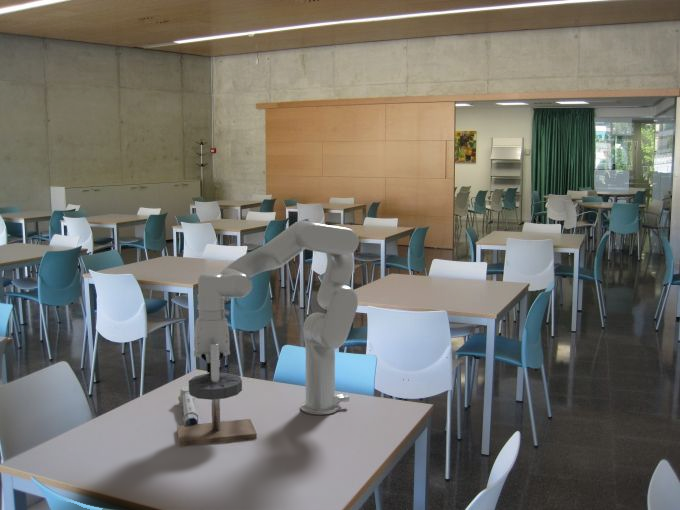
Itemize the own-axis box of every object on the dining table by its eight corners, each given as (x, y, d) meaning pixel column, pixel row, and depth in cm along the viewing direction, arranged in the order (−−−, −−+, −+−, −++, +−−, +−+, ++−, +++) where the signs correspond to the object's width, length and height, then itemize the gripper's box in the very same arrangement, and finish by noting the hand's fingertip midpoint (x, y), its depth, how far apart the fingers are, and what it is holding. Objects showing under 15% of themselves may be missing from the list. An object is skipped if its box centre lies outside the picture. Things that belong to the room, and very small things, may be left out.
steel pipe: (220, 427, 210) (218, 342, 206) (221, 431, 207) (220, 344, 203) (210, 428, 209) (208, 343, 205) (211, 432, 206) (209, 345, 202)
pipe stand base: (250, 423, 217) (250, 418, 217) (256, 438, 205) (256, 433, 205) (177, 430, 211) (177, 426, 211) (179, 446, 199) (179, 441, 199)
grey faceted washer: (237, 380, 215) (237, 371, 215) (244, 396, 201) (244, 386, 201) (187, 384, 211) (187, 375, 211) (191, 401, 197) (191, 391, 197)
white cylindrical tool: (182, 418, 211) (177, 382, 234) (182, 438, 212) (177, 400, 236) (200, 416, 212) (193, 380, 235) (200, 436, 214) (193, 398, 237)
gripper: (235, 310, 215) (235, 369, 217) (185, 313, 210) (186, 372, 213) (238, 316, 207) (239, 376, 210) (186, 318, 203) (187, 380, 206)
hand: (212, 374), depth 211 cm, fingers closed
